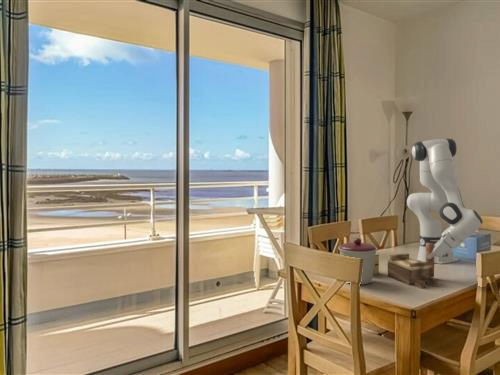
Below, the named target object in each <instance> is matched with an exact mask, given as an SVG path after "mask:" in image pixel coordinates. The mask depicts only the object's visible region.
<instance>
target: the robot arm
mask: <svg viewBox="0 0 500 375" xmlns="http://www.w3.org/2000/svg"><path fill="white" fill-rule="evenodd" d="M457 148H458V147H457V144H456V141H455V140H454V139H452V138H437V139H436V138H435V139H429V140H424V141H421V140H420V141H417V142H415V143H413V145H412V148H411V155H412V158H413V159H414V160H415V161H416V162H417V161H418V162H419V183H420V184H421V185H422V187H425V188H427V189H429V190H430V192H413V193H410V194H409V195H408V196H407V198H406V205H407V207H408V209H409V210H410V211H412V212H413V213H414V214H415V216H416V217H417V219H418V222H419V237H418V239H419V240H418V241H419V248H418V249H419V250H418V254H417V258H416V261H420V262H426V243H434V248H433V251H432V253H430V254H429V255H428V256H427V258H428V259H431V258H432V257H434V264H440V265H443V264H450V263H454V262H457V261H459V258H457V257H456V256H454V255H455V254H454V250H453V249H455V248H457V247H459V245H461V244H462V243H464V242H465V241H466V239H467V238H468V237H470V236H472V235H474V233H476V231H477V230H479V229H480V228H481V227H482V225H483V222H484V221H483V219H482V217H481V216H480V214H479V213H478V211H476V210H475V209H470V208H466V206H464V202H463V199H462V195H461V191H460V188H459V183H458V178H457V172H456V167H455V166H456V165H455V162H454V157H455V155H456V154H457V150H458V149H457ZM430 213H439V216H440V218H441V220H442V221H444V222H445V223H448V225H449V227H447V228H446V229H445V230H444V231H443V232H442V223H441V221H440V220H439V219H437V218H435V217H433V216H432V215H431V214H430ZM477 232H478V231H477Z"/></svg>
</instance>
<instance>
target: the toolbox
mask: <svg viewBox="0 0 500 375" xmlns="http://www.w3.org/2000/svg"><path fill="white" fill-rule="evenodd" d="M387 277H388V278H390V279H393V280H396V281H398V282H401V283H403V284H405V285H407V286H412V285H414V287H416V288H419V289H425V286H426V284H427V285H428V286H432V287H434V288H435V287H438V286H439V285H438V284H439V283H438V282H439V279H437V278H434V277H431V268H427V269H419V270H409V269H407V268H404V267H401V266H398V265H395V264H392V263H389V262H388V261H387Z"/></svg>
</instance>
